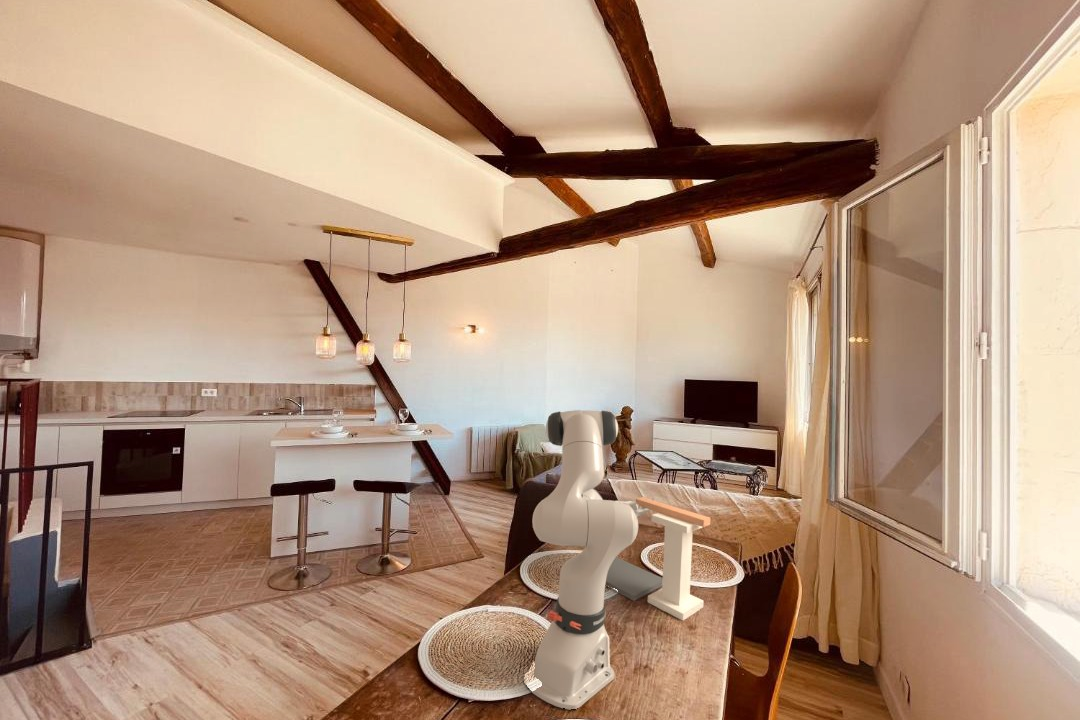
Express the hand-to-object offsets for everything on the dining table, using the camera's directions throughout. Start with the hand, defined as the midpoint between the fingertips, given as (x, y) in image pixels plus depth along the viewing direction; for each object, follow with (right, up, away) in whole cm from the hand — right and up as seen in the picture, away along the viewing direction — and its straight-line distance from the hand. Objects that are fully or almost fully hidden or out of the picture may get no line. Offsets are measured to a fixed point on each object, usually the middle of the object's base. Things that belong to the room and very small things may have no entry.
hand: (646, 503), depth 141 cm
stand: (+6, -28, -10) cm, 30 cm away
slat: (+6, -1, -7) cm, 9 cm away
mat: (-8, -28, +7) cm, 30 cm away
